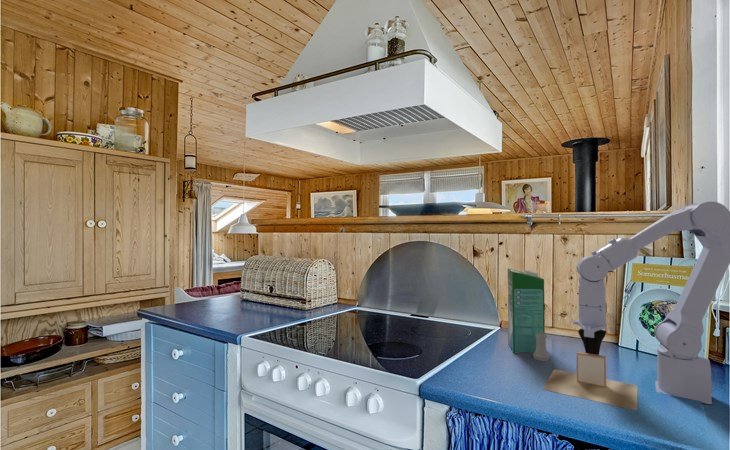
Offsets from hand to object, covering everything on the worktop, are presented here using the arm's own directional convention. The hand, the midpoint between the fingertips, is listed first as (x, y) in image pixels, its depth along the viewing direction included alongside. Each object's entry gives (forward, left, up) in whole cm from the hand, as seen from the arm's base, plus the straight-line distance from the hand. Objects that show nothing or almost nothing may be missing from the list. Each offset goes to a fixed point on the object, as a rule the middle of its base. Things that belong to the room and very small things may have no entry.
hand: (592, 359), depth 94 cm
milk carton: (+19, -17, -6) cm, 26 cm away
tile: (0, +3, -5) cm, 6 cm away
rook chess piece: (+13, -9, -6) cm, 17 cm away
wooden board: (0, +6, -5) cm, 8 cm away
